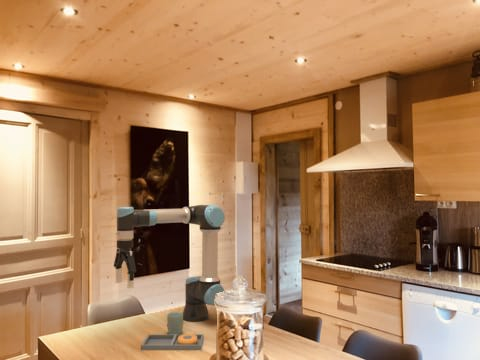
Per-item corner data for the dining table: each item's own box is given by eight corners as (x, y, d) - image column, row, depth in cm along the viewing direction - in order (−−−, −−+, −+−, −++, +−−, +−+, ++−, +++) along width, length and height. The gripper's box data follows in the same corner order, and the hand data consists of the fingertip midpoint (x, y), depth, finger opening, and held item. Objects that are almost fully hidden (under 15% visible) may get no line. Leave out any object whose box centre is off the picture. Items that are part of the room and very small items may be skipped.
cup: (186, 333, 197) (186, 313, 197) (176, 338, 190) (176, 317, 190) (174, 330, 201) (174, 311, 201) (164, 335, 194) (164, 315, 194)
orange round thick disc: (190, 339, 187) (190, 332, 188) (200, 344, 181) (200, 337, 181) (174, 343, 182) (174, 336, 182) (184, 349, 175) (184, 342, 175)
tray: (203, 339, 188) (203, 334, 188) (200, 351, 174) (200, 345, 174) (148, 339, 188) (148, 334, 188) (140, 351, 174) (140, 345, 174)
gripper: (107, 237, 190) (106, 281, 189) (128, 242, 171) (127, 291, 170) (121, 236, 195) (121, 279, 194) (144, 241, 176) (143, 288, 175)
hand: (124, 285), depth 182 cm, fingers open, 13 cm apart
